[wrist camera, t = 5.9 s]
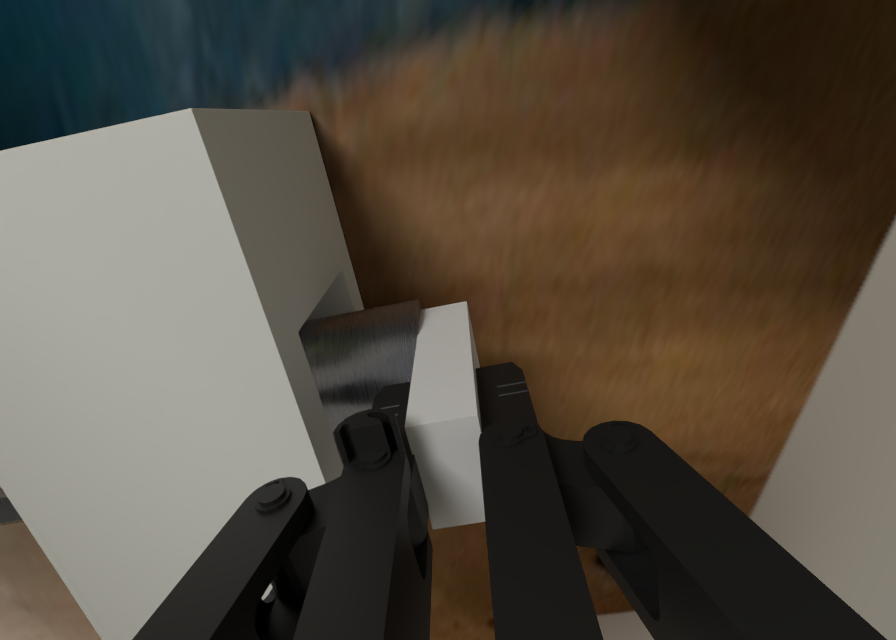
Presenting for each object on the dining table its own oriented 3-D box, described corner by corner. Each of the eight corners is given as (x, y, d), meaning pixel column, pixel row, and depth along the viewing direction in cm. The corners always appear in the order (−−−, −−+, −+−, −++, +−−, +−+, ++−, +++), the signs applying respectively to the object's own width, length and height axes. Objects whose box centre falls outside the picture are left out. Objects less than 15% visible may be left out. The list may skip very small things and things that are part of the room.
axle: (29, 456, 20) (-70, 537, 16) (-27, 365, 18) (-151, 430, 15) (443, 385, 19) (442, 454, 15) (419, 280, 17) (411, 328, 13)
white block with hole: (245, 510, 24) (145, 705, 16) (89, 158, 18) (-193, 193, 10) (412, 484, 23) (393, 673, 15) (309, 111, 17) (190, 108, 9)
